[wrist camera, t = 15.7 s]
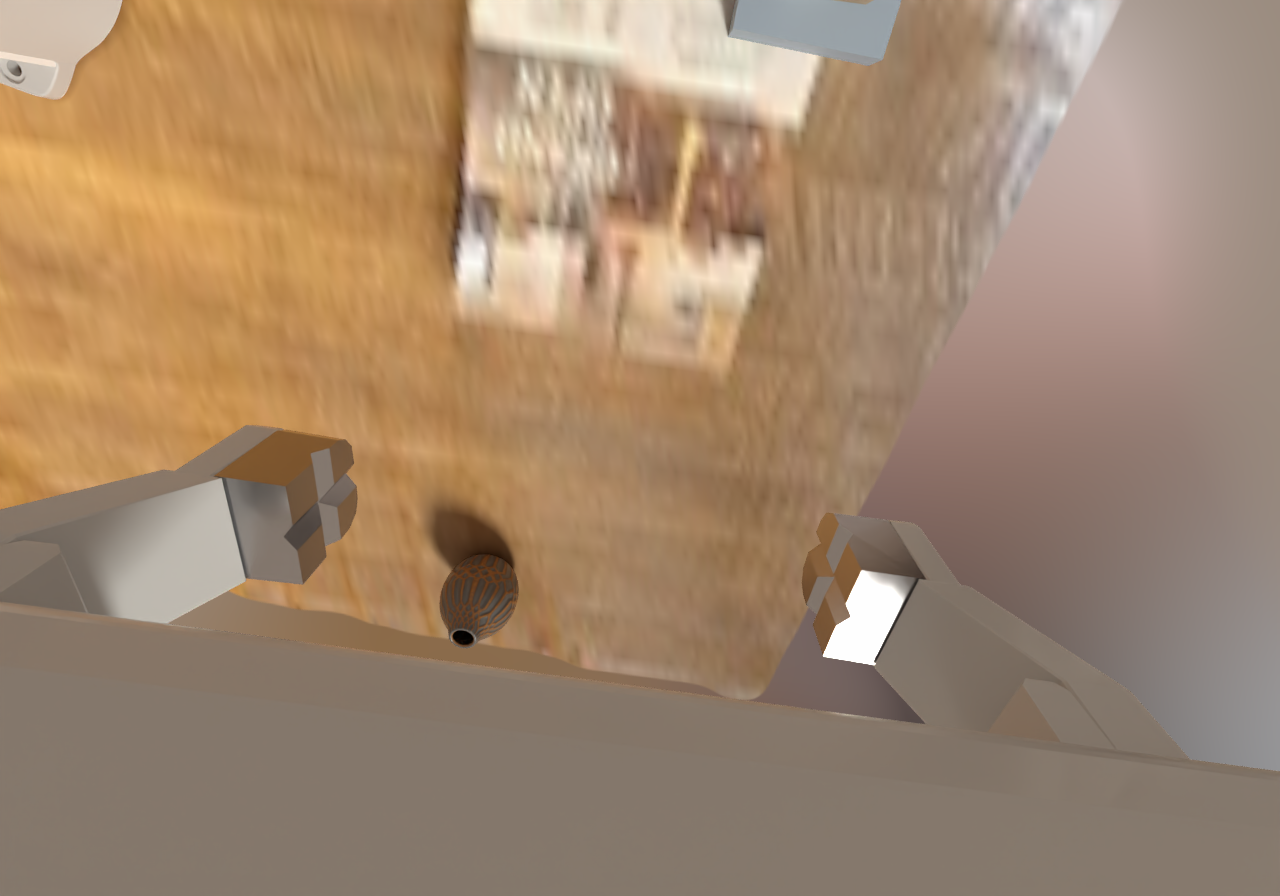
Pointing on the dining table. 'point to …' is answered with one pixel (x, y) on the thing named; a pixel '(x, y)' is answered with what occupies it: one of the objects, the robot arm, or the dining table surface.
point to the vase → (478, 599)
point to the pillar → (857, 1)
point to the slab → (818, 26)
